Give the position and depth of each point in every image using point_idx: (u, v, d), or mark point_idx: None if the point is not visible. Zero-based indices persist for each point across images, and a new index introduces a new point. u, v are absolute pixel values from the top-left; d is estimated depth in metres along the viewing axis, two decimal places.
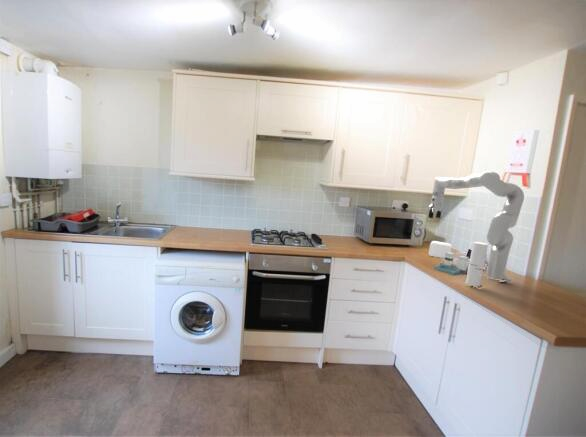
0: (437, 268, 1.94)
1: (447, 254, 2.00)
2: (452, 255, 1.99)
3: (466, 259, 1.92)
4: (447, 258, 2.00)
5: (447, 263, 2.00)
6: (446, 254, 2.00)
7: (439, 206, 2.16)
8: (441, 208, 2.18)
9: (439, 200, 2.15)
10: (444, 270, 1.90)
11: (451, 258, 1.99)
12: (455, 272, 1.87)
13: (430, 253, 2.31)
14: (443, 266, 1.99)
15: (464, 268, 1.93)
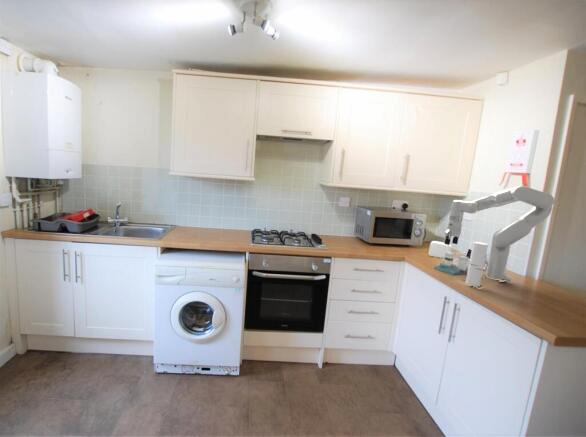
0: (437, 268, 1.94)
1: (447, 254, 2.00)
2: (452, 255, 1.99)
3: (466, 259, 1.92)
4: (447, 258, 2.00)
5: (447, 263, 2.00)
6: (446, 254, 2.00)
7: (457, 232, 1.96)
8: (459, 234, 1.98)
9: (457, 226, 1.95)
10: (444, 270, 1.90)
11: (451, 258, 1.99)
12: (455, 272, 1.87)
13: (430, 253, 2.31)
14: (443, 266, 1.99)
15: (464, 268, 1.93)
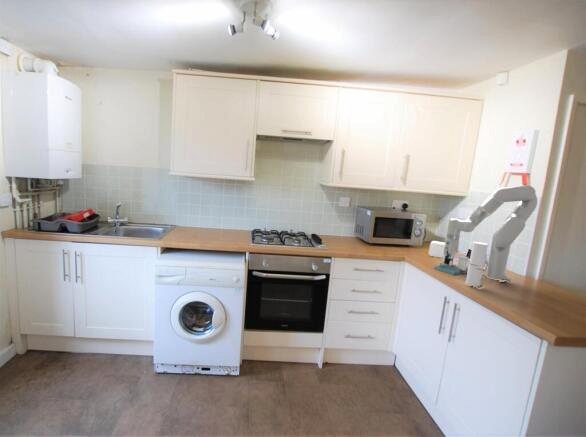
0: (437, 268, 1.94)
1: None
2: (452, 255, 1.99)
3: (466, 259, 1.92)
4: None
5: None
6: None
7: (454, 250, 1.98)
8: (456, 252, 2.00)
9: (454, 244, 1.97)
10: (444, 270, 1.90)
11: (451, 258, 1.99)
12: (455, 272, 1.87)
13: (430, 253, 2.31)
14: (443, 266, 1.99)
15: (464, 268, 1.93)
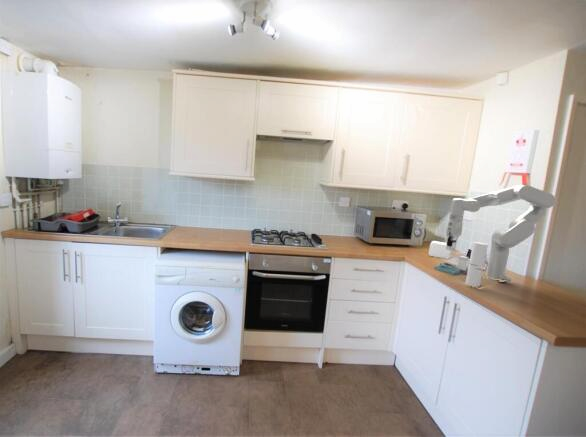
0: (437, 268, 1.94)
1: None
2: (455, 237, 1.91)
3: (466, 259, 1.92)
4: None
5: None
6: None
7: (457, 231, 1.89)
8: (459, 233, 1.91)
9: (458, 225, 1.88)
10: (444, 270, 1.90)
11: (454, 240, 1.91)
12: (455, 272, 1.87)
13: (430, 253, 2.31)
14: (443, 266, 1.99)
15: (464, 268, 1.93)
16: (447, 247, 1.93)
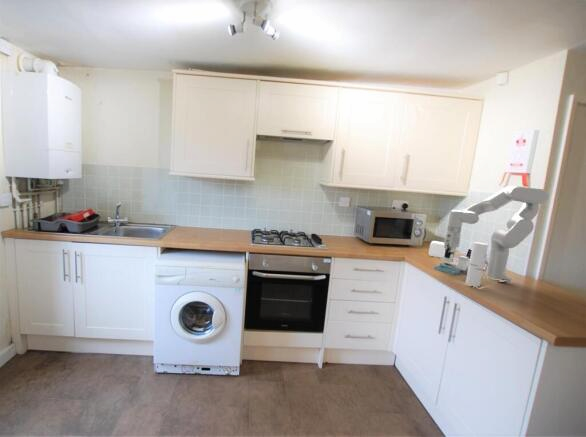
0: (437, 268, 1.94)
1: None
2: (453, 248, 1.89)
3: (466, 259, 1.92)
4: None
5: None
6: None
7: (455, 243, 1.88)
8: (457, 245, 1.90)
9: (456, 237, 1.87)
10: (444, 270, 1.90)
11: (452, 251, 1.90)
12: (455, 272, 1.87)
13: (430, 253, 2.31)
14: (443, 266, 1.99)
15: (464, 268, 1.93)
16: (445, 259, 1.92)
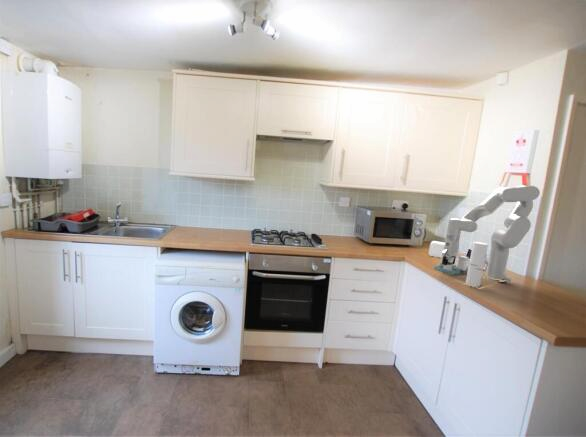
0: (437, 268, 1.94)
1: None
2: (452, 259, 1.90)
3: (466, 259, 1.92)
4: None
5: (446, 267, 1.92)
6: None
7: (454, 251, 1.89)
8: (456, 253, 1.91)
9: (455, 245, 1.88)
10: (444, 270, 1.90)
11: (450, 262, 1.91)
12: (455, 272, 1.87)
13: (430, 253, 2.31)
14: None
15: (464, 268, 1.93)
16: None
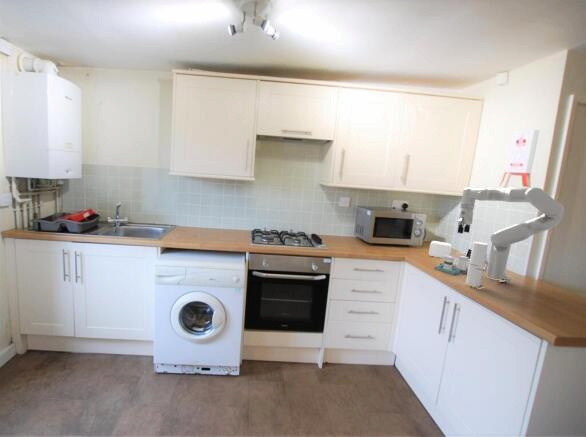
0: (437, 268, 1.94)
1: (446, 258, 1.91)
2: (452, 259, 1.90)
3: (466, 259, 1.92)
4: (446, 262, 1.92)
5: (446, 267, 1.92)
6: (445, 258, 1.92)
7: (469, 220, 1.95)
8: (471, 222, 1.97)
9: (470, 214, 1.94)
10: (444, 270, 1.90)
11: (450, 262, 1.91)
12: (455, 272, 1.87)
13: (430, 253, 2.31)
14: None
15: (464, 268, 1.93)
16: None
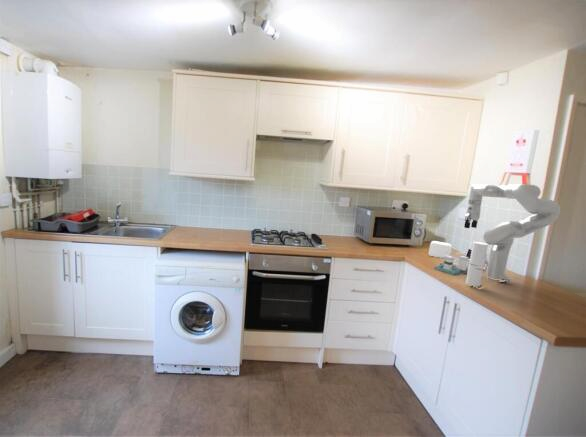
0: (437, 268, 1.94)
1: (446, 258, 1.91)
2: (452, 259, 1.90)
3: (466, 259, 1.92)
4: (446, 262, 1.92)
5: (446, 267, 1.92)
6: (445, 258, 1.92)
7: (476, 215, 2.01)
8: (478, 217, 2.03)
9: (477, 209, 2.00)
10: (444, 270, 1.90)
11: (450, 262, 1.91)
12: (455, 272, 1.87)
13: (430, 253, 2.31)
14: None
15: (464, 268, 1.93)
16: None
